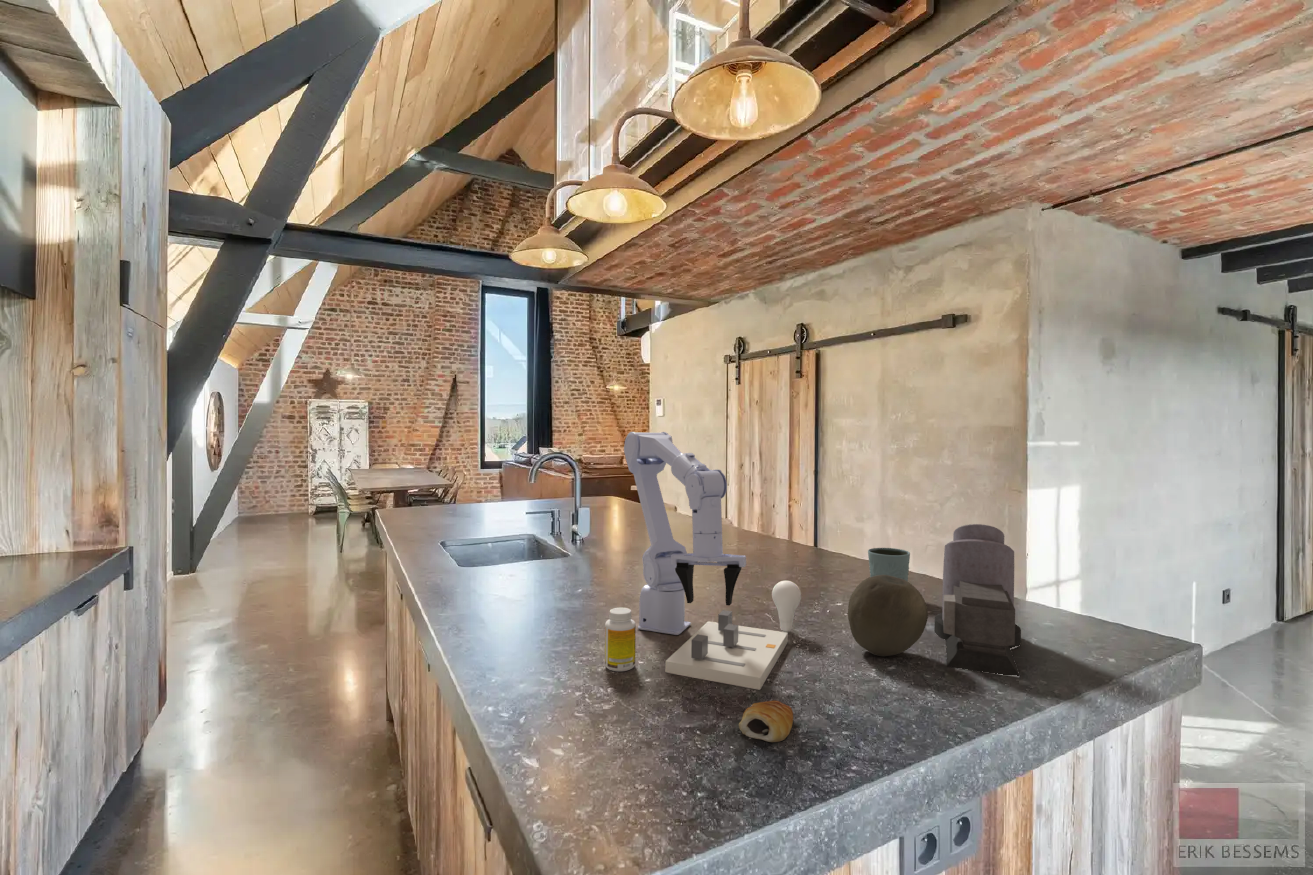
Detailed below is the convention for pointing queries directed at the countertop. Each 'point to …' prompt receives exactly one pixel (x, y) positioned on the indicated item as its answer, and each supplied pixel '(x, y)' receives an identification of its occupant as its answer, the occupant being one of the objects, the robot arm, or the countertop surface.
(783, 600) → the lightbulb
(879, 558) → the drinking glass
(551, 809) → the countertop surface
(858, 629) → the cantaloupe
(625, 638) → the supplement bottle
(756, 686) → the breaker panel
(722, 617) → the block
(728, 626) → the block
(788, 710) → the pastry
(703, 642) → the block
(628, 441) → the robot arm
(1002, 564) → the juicer
